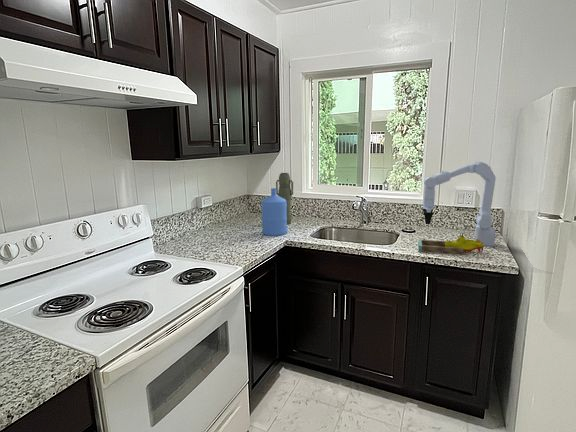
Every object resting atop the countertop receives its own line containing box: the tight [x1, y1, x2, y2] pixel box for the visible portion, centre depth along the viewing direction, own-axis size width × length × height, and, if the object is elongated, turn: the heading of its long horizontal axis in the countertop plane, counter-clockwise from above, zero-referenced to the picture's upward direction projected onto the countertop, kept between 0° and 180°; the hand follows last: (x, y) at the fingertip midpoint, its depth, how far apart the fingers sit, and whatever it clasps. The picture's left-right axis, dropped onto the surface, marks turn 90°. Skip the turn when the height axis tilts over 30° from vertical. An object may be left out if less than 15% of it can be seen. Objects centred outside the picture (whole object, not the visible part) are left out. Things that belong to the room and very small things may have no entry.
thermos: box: [275, 172, 294, 226], centre depth 242 cm, size 9×12×35 cm
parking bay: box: [417, 239, 464, 256], centre depth 182 cm, size 20×12×3 cm, turn 71°
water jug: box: [260, 188, 288, 237], centre depth 218 cm, size 16×16×28 cm
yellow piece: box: [444, 232, 485, 253], centre depth 177 cm, size 6×18×10 cm, turn 78°
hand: (427, 222), depth 198 cm, fingers open, 7 cm apart
